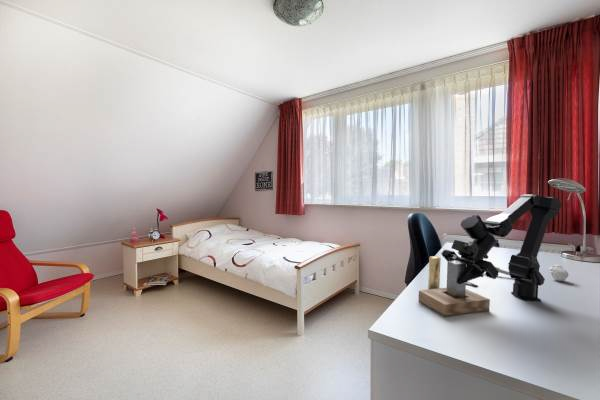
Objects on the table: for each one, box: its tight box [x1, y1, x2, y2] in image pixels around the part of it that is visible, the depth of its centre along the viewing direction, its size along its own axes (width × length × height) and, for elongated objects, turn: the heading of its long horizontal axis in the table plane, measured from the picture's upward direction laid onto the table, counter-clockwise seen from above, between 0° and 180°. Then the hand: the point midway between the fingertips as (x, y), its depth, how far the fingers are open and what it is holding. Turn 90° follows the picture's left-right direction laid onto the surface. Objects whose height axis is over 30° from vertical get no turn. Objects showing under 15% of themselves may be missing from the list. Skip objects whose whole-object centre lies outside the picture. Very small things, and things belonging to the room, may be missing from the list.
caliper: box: [484, 265, 510, 276], centre depth 124 cm, size 20×1×6 cm, turn 55°
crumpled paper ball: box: [548, 264, 570, 282], centre depth 120 cm, size 6×7×7 cm
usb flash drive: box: [466, 281, 479, 288], centre depth 115 cm, size 9×5×1 cm, turn 18°
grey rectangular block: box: [446, 261, 467, 299], centre depth 92 cm, size 4×4×13 cm
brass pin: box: [427, 255, 442, 290], centre depth 107 cm, size 4×4×13 cm
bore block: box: [418, 287, 491, 318], centre depth 92 cm, size 18×12×4 cm, turn 105°
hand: (453, 281), depth 92 cm, fingers closed on grey rectangular block, 4 cm apart
